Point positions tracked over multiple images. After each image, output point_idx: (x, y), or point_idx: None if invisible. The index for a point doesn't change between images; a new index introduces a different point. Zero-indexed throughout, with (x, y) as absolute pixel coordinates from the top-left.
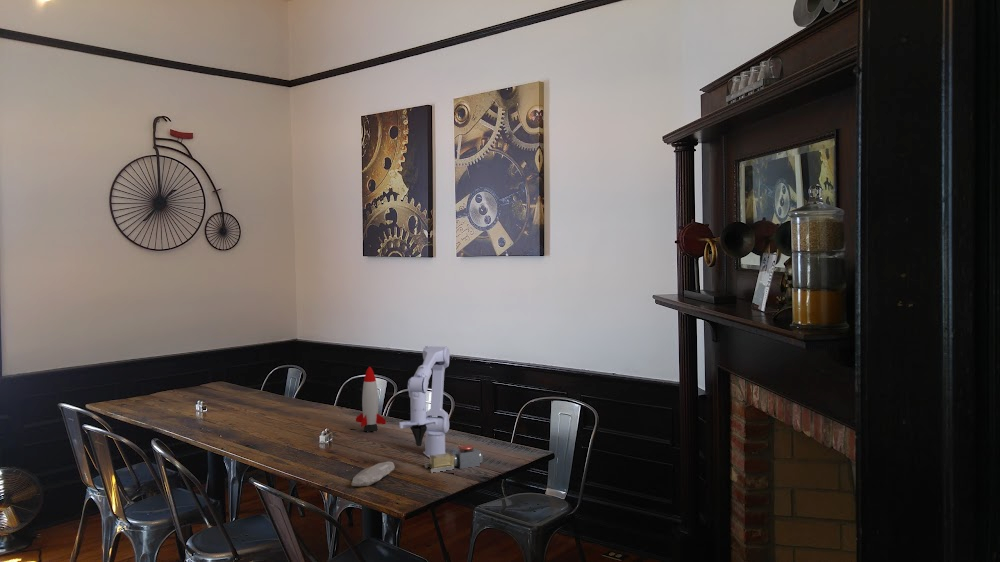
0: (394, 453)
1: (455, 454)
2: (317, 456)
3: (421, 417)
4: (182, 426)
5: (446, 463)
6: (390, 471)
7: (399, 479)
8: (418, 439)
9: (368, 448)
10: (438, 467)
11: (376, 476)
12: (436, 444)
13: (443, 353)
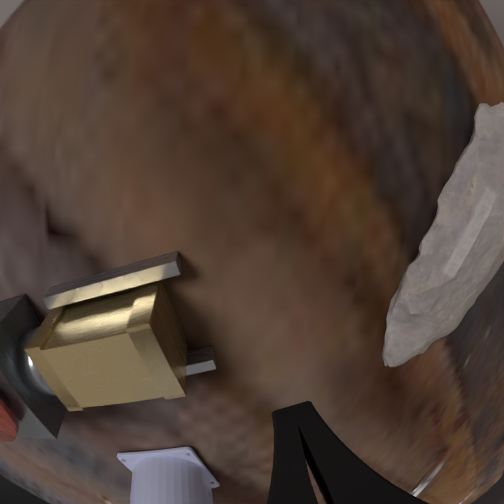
0: None
1: (30, 379)
2: (476, 421)
3: None
4: (499, 466)
5: (78, 319)
6: (428, 230)
7: (377, 169)
8: (329, 453)
9: None
10: (129, 298)
11: (497, 119)
12: (162, 497)
13: None
